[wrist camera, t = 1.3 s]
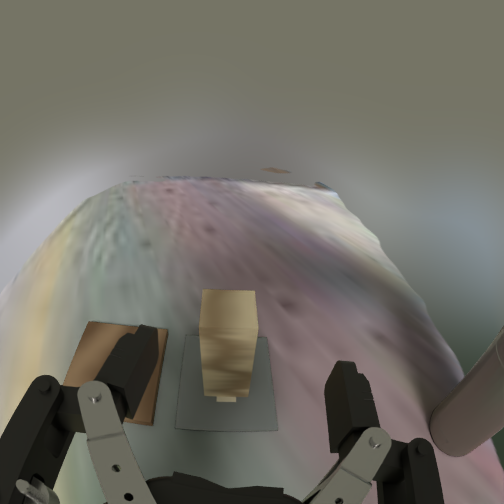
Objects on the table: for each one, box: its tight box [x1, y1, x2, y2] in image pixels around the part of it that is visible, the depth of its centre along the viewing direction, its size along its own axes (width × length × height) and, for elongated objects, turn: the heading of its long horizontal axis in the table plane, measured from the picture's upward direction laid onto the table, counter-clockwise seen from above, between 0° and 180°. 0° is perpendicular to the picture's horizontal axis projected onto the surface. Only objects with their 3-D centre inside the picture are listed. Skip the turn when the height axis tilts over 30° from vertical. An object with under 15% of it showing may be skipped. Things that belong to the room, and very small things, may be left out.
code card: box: [175, 335, 278, 432], centre depth 32 cm, size 11×14×1 cm
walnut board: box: [63, 321, 168, 426], centre depth 31 cm, size 12×14×1 cm
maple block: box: [199, 289, 258, 397], centre depth 29 cm, size 5×5×12 cm
